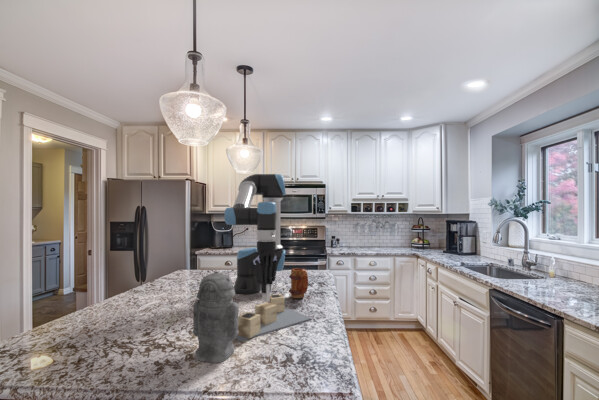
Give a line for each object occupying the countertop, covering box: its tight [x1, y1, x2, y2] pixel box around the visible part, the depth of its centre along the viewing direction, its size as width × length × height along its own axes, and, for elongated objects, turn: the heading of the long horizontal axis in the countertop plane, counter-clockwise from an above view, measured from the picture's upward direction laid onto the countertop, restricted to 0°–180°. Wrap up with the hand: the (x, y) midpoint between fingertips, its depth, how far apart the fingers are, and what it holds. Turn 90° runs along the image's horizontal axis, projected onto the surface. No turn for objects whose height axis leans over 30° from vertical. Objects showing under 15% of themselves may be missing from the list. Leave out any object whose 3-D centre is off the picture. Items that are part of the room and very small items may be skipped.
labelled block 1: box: [238, 311, 260, 339], centre depth 102 cm, size 6×6×6 cm
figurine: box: [192, 270, 240, 364], centre depth 88 cm, size 10×14×25 cm
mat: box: [234, 306, 312, 342], centre depth 114 cm, size 20×32×1 cm, turn 129°
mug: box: [288, 267, 309, 299], centre depth 145 cm, size 15×8×15 cm, turn 25°
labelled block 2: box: [268, 293, 285, 312], centre depth 126 cm, size 6×6×6 cm
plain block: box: [254, 301, 277, 325], centre depth 114 cm, size 6×6×6 cm
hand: (265, 300), depth 114 cm, fingers closed
